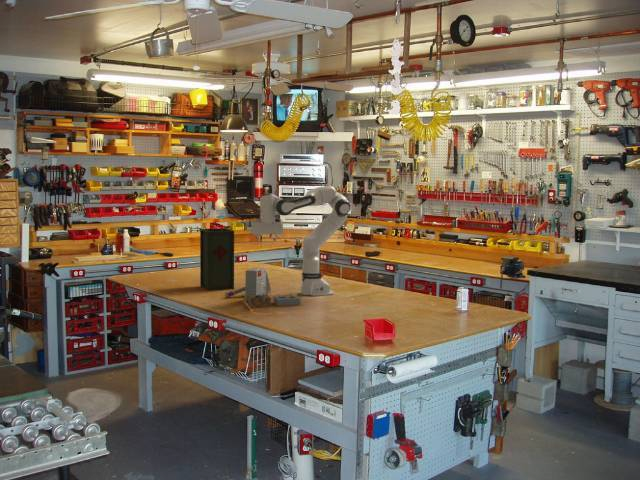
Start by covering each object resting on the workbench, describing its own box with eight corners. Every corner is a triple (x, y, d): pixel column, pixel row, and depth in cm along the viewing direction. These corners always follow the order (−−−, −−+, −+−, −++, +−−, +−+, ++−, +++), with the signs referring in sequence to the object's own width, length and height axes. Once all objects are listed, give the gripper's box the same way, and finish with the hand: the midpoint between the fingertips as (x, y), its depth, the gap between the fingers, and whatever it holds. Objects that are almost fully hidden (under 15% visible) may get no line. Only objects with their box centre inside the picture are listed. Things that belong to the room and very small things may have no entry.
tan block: (294, 302, 398) (294, 292, 398) (296, 303, 393) (296, 293, 393) (290, 302, 397) (290, 292, 397) (292, 303, 393) (292, 294, 392)
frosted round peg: (260, 302, 391) (261, 283, 390) (263, 303, 389) (264, 283, 388) (256, 303, 389) (256, 283, 388) (259, 304, 387) (259, 284, 386)
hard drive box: (256, 303, 399) (256, 271, 397) (244, 302, 401) (244, 270, 399) (266, 298, 413) (266, 267, 411) (255, 297, 416) (255, 266, 414)
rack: (267, 304, 396) (267, 294, 396) (270, 307, 387) (270, 298, 386) (247, 305, 393) (248, 295, 392) (250, 308, 383) (250, 298, 383)
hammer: (225, 285, 408) (266, 270, 423) (220, 283, 415) (260, 269, 430) (230, 308, 412) (271, 292, 427) (225, 305, 418) (265, 290, 433)
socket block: (296, 303, 401) (296, 295, 401) (300, 306, 392) (300, 298, 391) (273, 304, 397) (274, 296, 397) (277, 307, 388) (277, 299, 387)
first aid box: (225, 284, 460) (226, 228, 456) (234, 289, 444) (234, 230, 439) (200, 286, 452) (200, 228, 448) (207, 290, 436) (207, 231, 431)
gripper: (251, 219, 402) (251, 242, 403) (284, 219, 407) (284, 241, 409) (249, 219, 408) (249, 241, 409) (281, 218, 413) (281, 240, 415)
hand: (267, 241), depth 409 cm, fingers open, 8 cm apart
